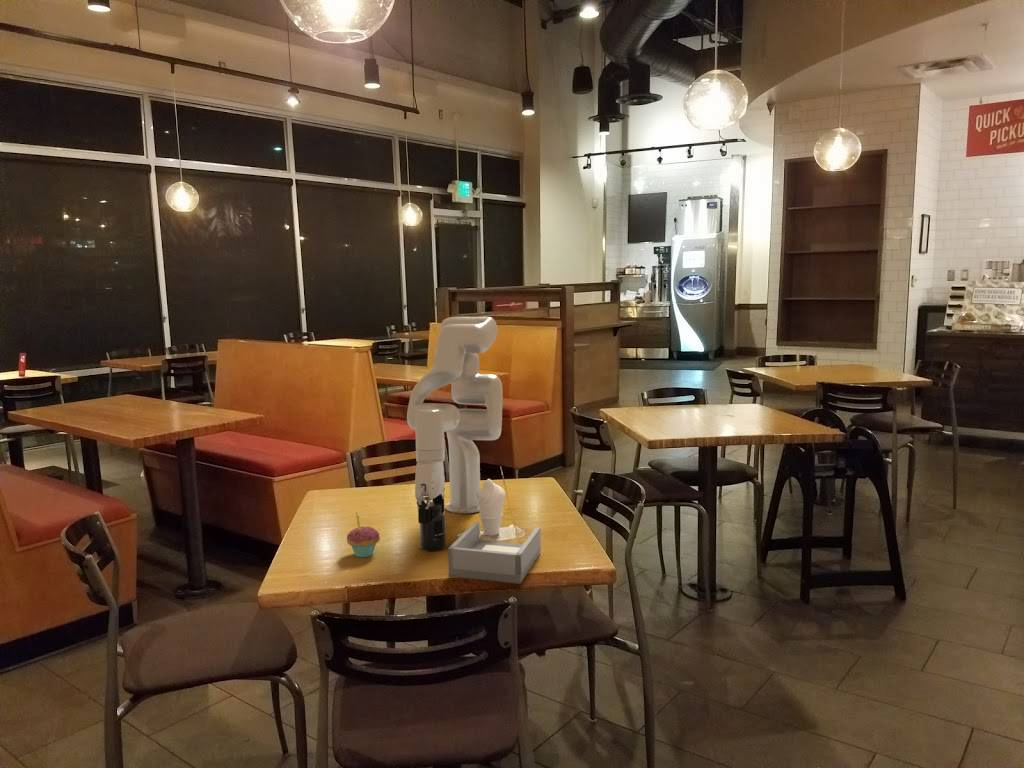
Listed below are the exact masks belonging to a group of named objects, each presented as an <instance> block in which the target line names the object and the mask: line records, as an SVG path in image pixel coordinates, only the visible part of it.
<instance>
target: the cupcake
mask: <svg viewBox="0 0 1024 768" xmlns="http://www.w3.org/2000/svg"><path fill="white" fill-rule="evenodd" d="M355 518H356V519H355V520H356V524H357V527H355V528H354V529H352V530H350V531H349V532H348V533H347V535H346V543H347V544H348V545H349V546H350V547H351V548H352V551H353V554H354V556H355V557H357V558H367V557H370V556H372V555H373V554H374V551H375V548H376V545H377V544H378V543H379V541H380V539H381V536H380V532H379V531H378V530H376V529H375V528H373V527H370V526H369V525H367V526H361V522H360V515H359V514H358V512H355Z"/></svg>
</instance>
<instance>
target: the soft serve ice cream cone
mask: <svg viewBox="0 0 1024 768" xmlns="http://www.w3.org/2000/svg"><path fill="white" fill-rule="evenodd" d="M476 495H477V497H476V499H477V500H478V505H479V517H480V522H481V526H482V530H483V534H484V535H485V536H489V537H491V536H492V537H494V536H497V534H498V535H499V534H500V530H501V523H502V519H503V518H502V517H503V516H504V514H503V510H504V503H505V500H506V491H505V490H504V488H503V487H501V486H500V485H498V484H496V483H494V482H493V481H492V479H490V478H488V479H486V480H485V481H484V483H483V485H482V486H481V487H480V489H479V490H478V492H477V493H476Z"/></svg>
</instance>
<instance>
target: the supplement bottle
mask: <svg viewBox="0 0 1024 768" xmlns="http://www.w3.org/2000/svg"><path fill="white" fill-rule="evenodd" d="M429 508H430V520H431V522H430V524H423V523H419V528H420V529H419V534H420V537H419V541H420V543H419V544H420V548H421V549H422V550H423V551H427V552H438V551H441V550H444V549H445V547H446V545H447V542H446V541H447V537H446V536H447V535H446V530H447V529H446V515H445V513H442V512H441V511H442V508H441V503H439V502H433V501H430V505H429Z"/></svg>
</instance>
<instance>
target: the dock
mask: <svg viewBox="0 0 1024 768" xmlns="http://www.w3.org/2000/svg"><path fill="white" fill-rule="evenodd" d="M480 528H481V527H480V522H479V521H474V522H473V523H472V524H471V525H470V526H469V527H468V528H467V529H466V530H465V531H464V532H463V533H462V534H461V535H460V536H459V537H458V538H457V539H456V540H455V541H454V542H453V543H452V544H451V545H450V546H449V547H448V548H447V549H448V550H447V551H448V552H447V553H448V556H447V557H448V560H447V561H448V577H455V578H464V579H473V580H480V581H481V580H483V581H492V582H501V583H511V584H518V585H521V584H522V582H523V581H524V579H525V578H526V576H527V574H528V573H529V571H530V570H531V568H532V567H533V565H534V564H535V562H536V561H537V559H538V558H539V556H540V555H541V553H542V552H541V550H542V549H541V527H540V526H535V528H534V529H533V530H532V532H531V533H530V534H529V536H527V539H525V541H524V542H523V543H515V542H507V541H506V542H505V541H504V542H503V541H494V540H492V541H491V540H485V539H484V540H482V539H481V535H480V531H481V530H480ZM540 552H541V553H540ZM539 554H540V555H539ZM538 555H539V556H538ZM537 557H538V558H537ZM536 558H537V559H536ZM535 560H536V561H535ZM534 561H535V562H534ZM533 563H534V564H533ZM532 564H533V565H532ZM531 566H532V567H531ZM529 569H530V570H529ZM527 572H528V573H527Z"/></svg>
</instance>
